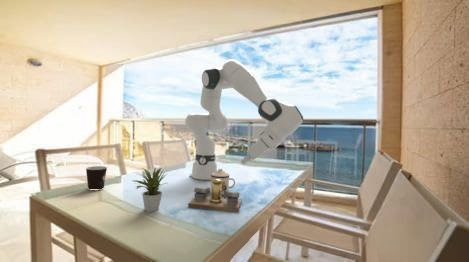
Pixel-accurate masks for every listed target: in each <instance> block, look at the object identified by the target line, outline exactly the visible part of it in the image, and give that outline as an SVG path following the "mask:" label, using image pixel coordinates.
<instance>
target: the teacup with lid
mask: <svg viewBox="0 0 469 262" xmlns="http://www.w3.org/2000/svg"><path fill="white" fill-rule="evenodd" d="M217 170H218V171H216V172H214V173H212V174H211V179H213V178H220V179H223V183H222V187H221V196H224V191H225V190H227V192H229V189H233V188H234V187H235V185H236V180H235V179H234V178H232V177H230V173H228V172H226V171H224V170H223V168H217ZM230 180H231V181H233V185H231V186H230V185H229V182H230ZM210 193H211V194H212V182H211V181H210Z"/></svg>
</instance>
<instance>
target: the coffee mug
mask: <svg viewBox="0 0 469 262" xmlns="http://www.w3.org/2000/svg"><path fill="white" fill-rule="evenodd" d="M107 169H108V167H107V166H105V165H104V166H102V165H100V166H99V165H94V166H87V167H86V168H85V171H86V180H87V189H88V188H89V189H102V188H105V184H106V183H105V182H106V175H107ZM102 190H103V189H102Z"/></svg>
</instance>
